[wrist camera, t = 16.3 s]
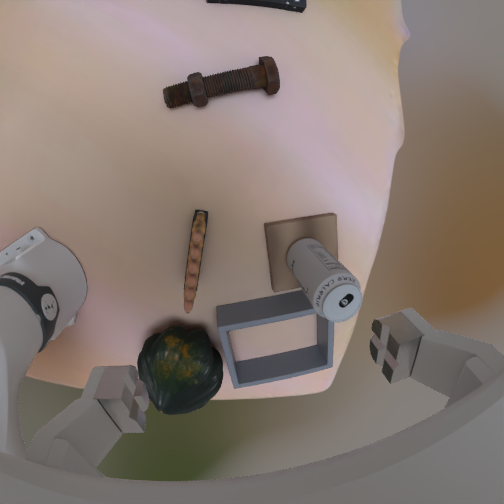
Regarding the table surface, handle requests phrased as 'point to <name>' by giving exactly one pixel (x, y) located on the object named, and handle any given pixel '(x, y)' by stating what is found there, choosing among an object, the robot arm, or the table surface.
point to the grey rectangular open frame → (279, 363)
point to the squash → (180, 370)
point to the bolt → (224, 83)
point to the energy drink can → (324, 280)
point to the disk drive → (268, 3)
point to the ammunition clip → (194, 258)
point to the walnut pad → (292, 231)
